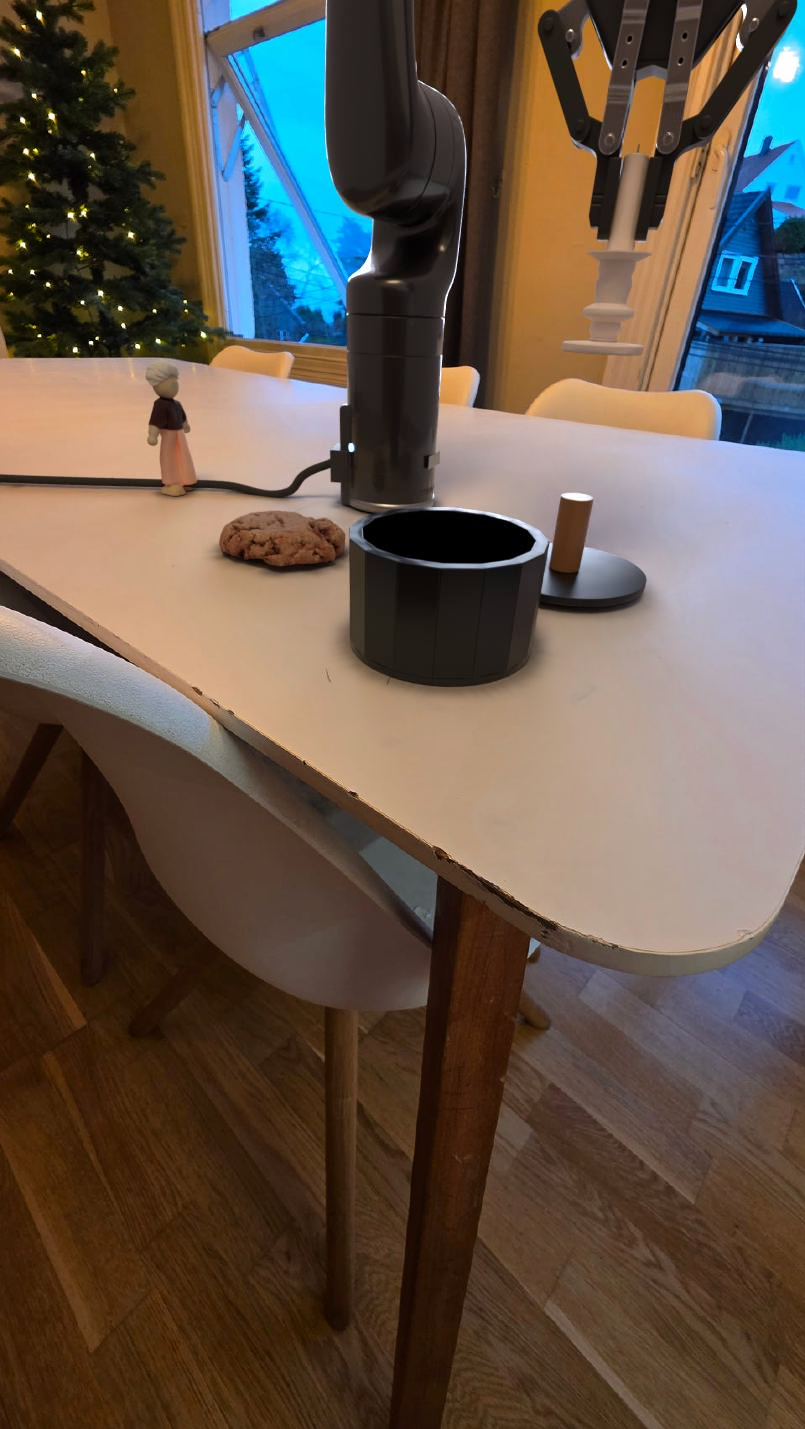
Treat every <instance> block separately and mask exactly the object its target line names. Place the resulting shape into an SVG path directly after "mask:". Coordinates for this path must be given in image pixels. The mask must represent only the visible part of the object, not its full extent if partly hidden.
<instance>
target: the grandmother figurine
mask: <svg viewBox="0 0 805 1429" xmlns="http://www.w3.org/2000/svg"><path fill="white" fill-rule="evenodd" d="M179 376H180V371H179V368H178V367H177V365H176V364H175V363H173V362H171V361H170V360H167V359H163V358H160V359H159V358H158V359H157V360H155V361H153V362H151V364H150V365H149V366H147V367H146V373H145V380H146V381H147V382H148V384H149V385H150V386H152V389H153V391H154V393H155V394H156V395H157V396H158V398H157V399H155V400H154V401H153V405H152V406H153V407H152V410H151V413H150V417H149V421H148V430H147V433H148V436H147V438H146V442H147V444H148V445H149V446H152V447H156V446H157V445H158V443H159V440H158V438H159V436H160V438H161V439H160V444H159V445H160V446H159V465H160V475H161V479H162V483H164V484H165V486H164V487H163V488H161V490H160V493H161V494H163V495H166V496H172V497H173V496H174V497H176V496H177V497H179V496H182V495H183V496H184V495H186V493H187V492H186V491H193V490H195V489H196V488H191V487H183V485H191V484H194V483H197V480H198V477H197V472H196V468H195V464H194V461H193V457H192V454H191V450H190V447H189V442H188V439H187V435H186V434H189V433H190V432H191V430H192V429H191V426H190V424H189V421H188V416H187V413H186V411H185V409H184V407H183V405H182V403H181V402H180V401H179V400H177V399H175V397H176V396H177V395H178V393H179V391H180V384H179V379H180V378H179Z"/></svg>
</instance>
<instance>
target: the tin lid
mask: <svg viewBox="0 0 805 1429" xmlns="http://www.w3.org/2000/svg"><path fill="white" fill-rule="evenodd" d="M593 505H594V497H593V496H592V495H588V494H586V493H580V492H565V493H562V494H561V495H560V498H559V505H558V511H557V517H556V522H555V528H554V534H553V540H552V542H549V549H548V555H547V561H546V567H545V573H544V579H543V585H542V590H541V596H540V602H542V603H548V604H552V605H560V606H568V607H584V608H585V607H588V608H589V607H593V608H595V607H609V606H616V605H621V604H625V603H628V602H631V601H633V600H635V599H638V598H639V597H640V596H641V595H642V594H643V593H644V592H645V589H646V586H647V582H648V581H647V576H646V573H645V572H644V571H643V570H642V569H641V568H640V567H639V566H638V565H636V564H635V563H633V562H632V561H629V560H627V559H625V558H623V557H622V556H621V557H620V556H618V555H615V554H613V553H610V552H607V551H603V550H600V549H596V548H593V547H592V548H591V547H588V546H585V545H586V539H587V536H588V535H587V534H588V530H589V524H590V521H591V520H590V519H591V515H592V509H593Z"/></svg>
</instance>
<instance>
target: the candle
mask: <svg viewBox="0 0 805 1429" xmlns="http://www.w3.org/2000/svg"><path fill="white" fill-rule="evenodd" d="M640 146H641V145H640V143H639V144H638V145H637V149H636V152H631V153H628V154H626V155H625V156H624V157H623V159H622V161H623V165H622V170H621V175H620V179H619V184H618V190H617V195H616V201H615V206H614V212H613V217H612V223H611V229H610V234H609V240H608V241H606V247H605V249H598V250H597V249H596V250H588V251H587V252H586V255H589V256H591V257H592V258H594V259H595V260H596V261H599V262H598V267H597V268H598V269H597V270H598V272H597V273H598V276H597V279H596V281H595V284H594V302H593V303H591V304H589V305H587V306H585V307H583V311H582V317H583V316H584V317H585V318H587V319H588V320H589V321H591V324H590V326H589V329H588V331H589V334H590V337H589V338H588V340H564V341H562V343H561V351H562V352H566V353H576V354H586V355H600V356H601V355H602V356H620V357H621V356H622V357H623V356H624V357H625V356H626V357H627V356H628V357H633V356H635V357H638V356H641V355H642V354H643V352H644V345H643V344H638V343H629V342H619V339H618V337H619V336H620V334H621V333H622V323H624V322H626V321H628V320H631V319H633V318H634V317H635V312H636V311H635V309H633V307H631V306H629V305H628V304H627V302H628V299H629V296H630V293H631V290H632V287H633V278H632V277H633V275H634V272H635V270H636V265H637V262H641V261H642V260H644V259H646V258H648V257H651V256H653V253H652V252H649V251H644V250H643V251H641V250H635V247H636V243H637V242H636V241H635V234H636V228H637V223H638V218H639V213H640V208H641V202H642V197H643V192H644V187H645V182H646V176H647V171H648V166H649V161H650V156H649V155H647V154H645V153H642V152H640Z"/></svg>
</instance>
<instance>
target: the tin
mask: <svg viewBox="0 0 805 1429" xmlns="http://www.w3.org/2000/svg"><path fill="white" fill-rule="evenodd" d="M348 527H349V528H348V555H349V556H348V565H349V566H348V567H349V568H348V569H349V570H348V572H349V576H348V577H349V580H348V582H349V642H350V647H351V649H352V651H353V653H354V654H355V655H356V657H357V658H358V659H359V660H361V661H362V662H363V663H364V664H365V665H367V666H368V667H370V668H372V669H373V670H375V671H377V672H379V673H381V674H383V675H386V676H389V677H392V678H394V679H398V680H402V681H405V682H410V683H415V684H419V685H420V684H421V685H425V686H427V685H428V686H436V687H440V686H441V687H462V686H463V687H465V686H475V685H482V684H486V683H491V682H494V681H498V680H501V679H504V678H506V677H508V676H510V675H511V674H514V673H516V672H517V671H518V670H520V669H521V668H523V666H524V665H525V664H526V663H527V661H528V659H529V657H530V653H531V648H532V645H533V642H534V636H535V631H536V626H537V620H538V613H539V607H540V602H541V601H540V596H541V590H542V585H543V579H544V573H545V567H546V561H547V555H548V549H549V543H550V540H549V539H548V538H547V537H546V535H544V533H543V532H542V531H541V530H540V529H538V528H537V527H535V526H532V525H530V524H528V523H527V522H524V521H522V520H519V519H518V518H514V517H510V516H507V515H503V514H498V513H495V512H490V511H484V510H475V509H468V508H459V507H447V506H446V507H445V506H440V507H439V506H432V507H414V508H403V509H393V510H386V511H383V512H379V513H371V514H367V515H365V516H363V517H361V518H359V519H358V520H356V521H355V522H354V523H352V524H351V525H349V526H348Z"/></svg>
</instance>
